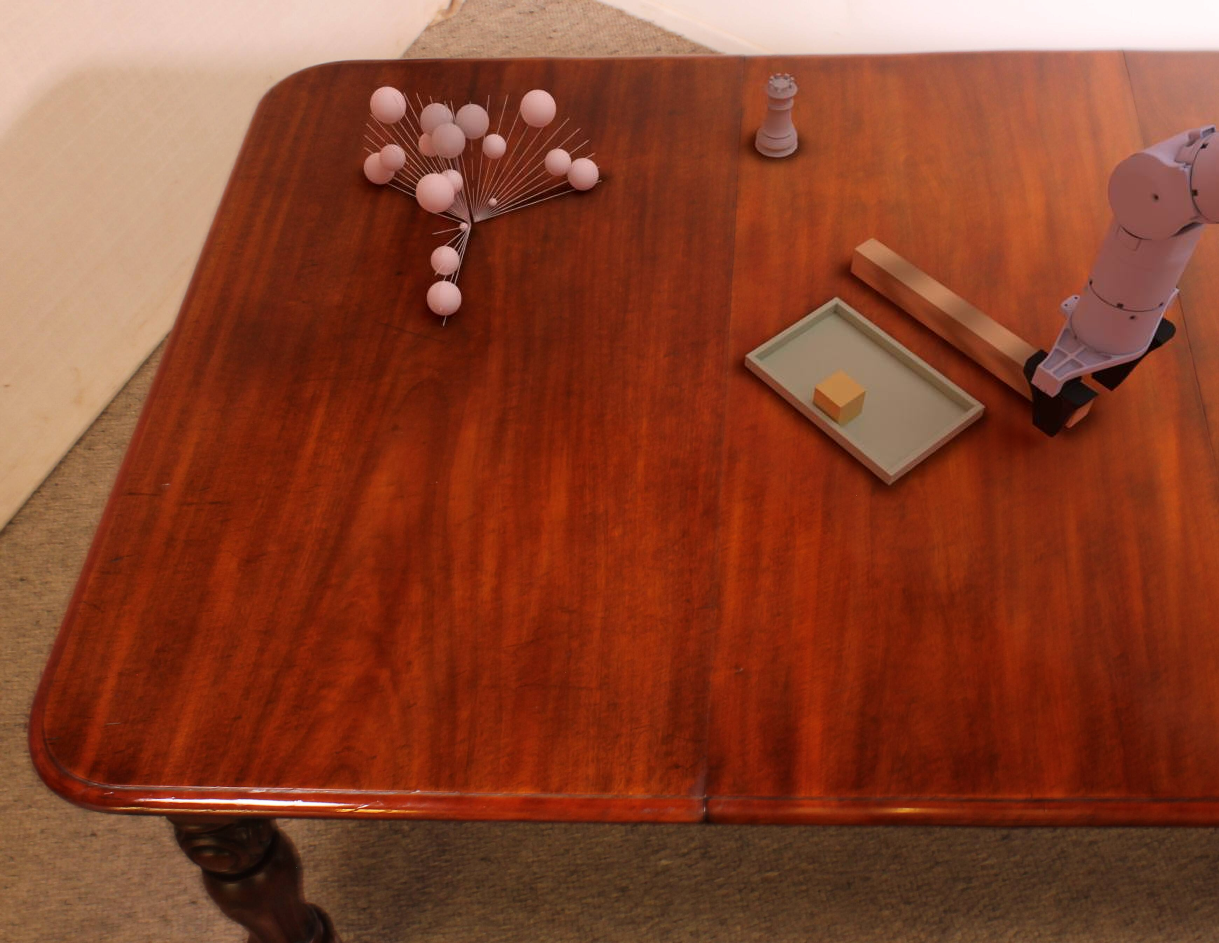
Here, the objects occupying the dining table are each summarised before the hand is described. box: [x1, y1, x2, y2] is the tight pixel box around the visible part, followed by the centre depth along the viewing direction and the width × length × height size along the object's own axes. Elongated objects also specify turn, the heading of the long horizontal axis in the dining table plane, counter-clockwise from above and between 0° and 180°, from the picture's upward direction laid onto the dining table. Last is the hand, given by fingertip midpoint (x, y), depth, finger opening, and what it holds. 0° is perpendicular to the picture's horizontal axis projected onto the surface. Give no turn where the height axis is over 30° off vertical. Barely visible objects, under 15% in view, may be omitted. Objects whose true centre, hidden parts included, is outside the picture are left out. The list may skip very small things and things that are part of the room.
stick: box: [849, 237, 1098, 429], centre depth 95 cm, size 25×2×3 cm, turn 38°
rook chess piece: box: [754, 72, 798, 159], centre depth 111 cm, size 4×4×8 cm
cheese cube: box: [812, 370, 866, 427], centre depth 90 cm, size 3×3×3 cm
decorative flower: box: [363, 86, 601, 327], centre depth 101 cm, size 25×22×14 cm
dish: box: [744, 296, 986, 486], centre depth 92 cm, size 17×11×2 cm, turn 38°
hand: (1074, 405), depth 89 cm, fingers open, 7 cm apart
